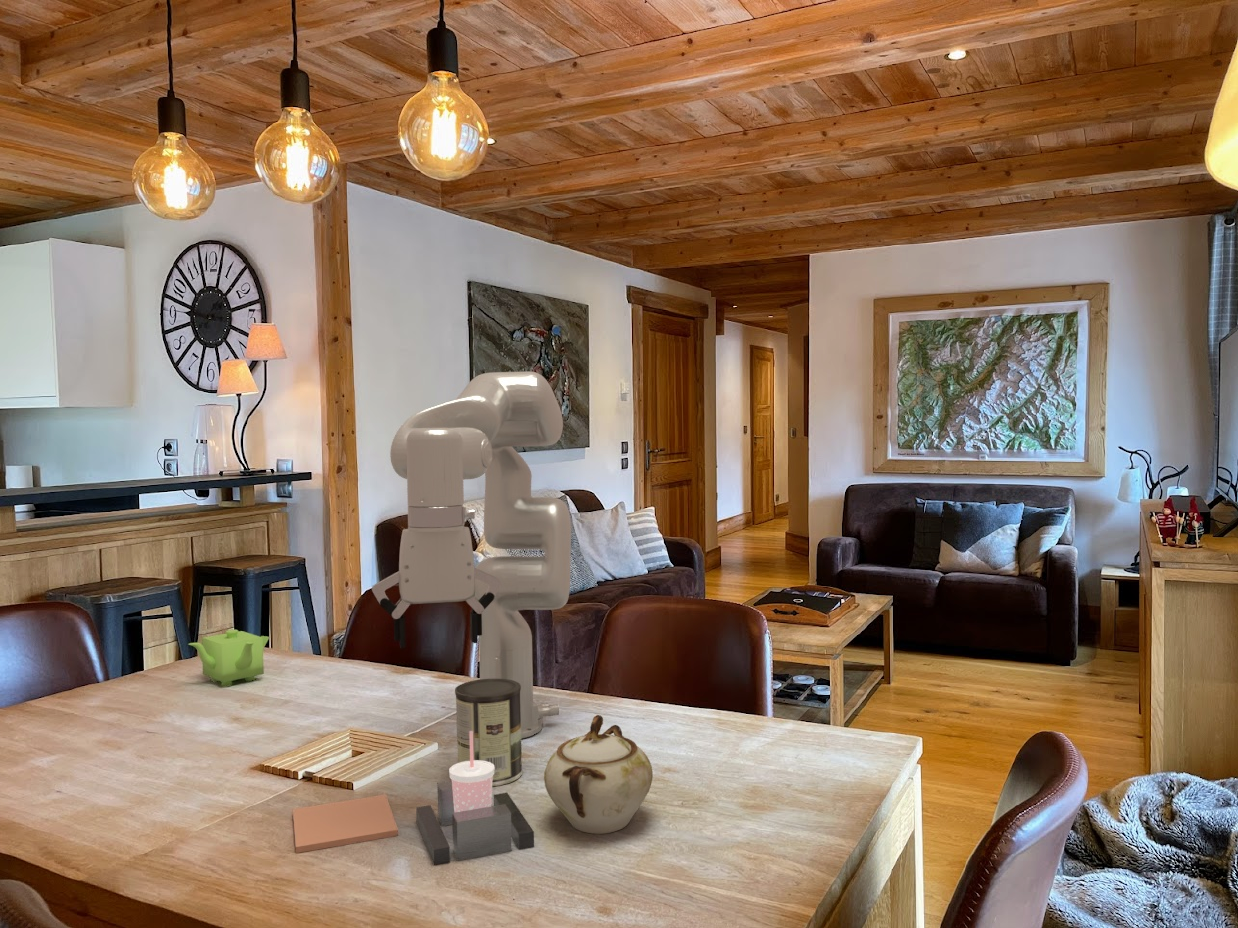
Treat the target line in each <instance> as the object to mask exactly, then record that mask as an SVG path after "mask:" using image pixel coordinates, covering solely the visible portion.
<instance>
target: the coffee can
mask: <svg viewBox="0 0 1238 928" xmlns="http://www.w3.org/2000/svg"><path fill="white" fill-rule="evenodd" d="M520 690H521V685H520V684H519V683H518V682H516V681H513V680H508V679H480V678H479V679H475V680H474V679H473V680H471V681H467V682H464V683H461V684H459V685H457V686H456V687H455V689H454V693H455V702H456V703H455V707H456V711H455V712H456V714H455V715H456V733H457V734H456V737H457V740H456V742H457V746H456V747H457V763H460V762H464V761H470V736H469V731H473V759H474V760H481V761H487V762H491V763H492V764H494V767H495V770H494V775H493V780H492V787H499V786H503V785H507V784H510V783H513V782H515V781H517V780H518V779H519V778H521V777H520V776H522V775H523V773H524V772H523V760H522V758H523V756H522V755H523V754H522V752H523V751H522V739H521V712H520V711H521V710H520Z"/></svg>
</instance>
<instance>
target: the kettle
mask: <svg viewBox="0 0 1238 928" xmlns="http://www.w3.org/2000/svg"><path fill="white" fill-rule="evenodd" d="M269 640H270V636H266V635H265V636H264V635H261V636H259V635H257V634H253V633H250V632H246V631H242V630H240V631H239V630H238V629H228V630H226V631H225V633H223V634H222V633H221V634H216V635H211V636H205V637H203V636H202V638H201V642H190V643H188V644H187V645H189V646H192V647H194V648H195V650H197V653H198V655H199V658H200V660H201V663H202V674H203V675H204V676H207V677H209V678H211V679H210V682H211V681H218V682H221V684H220V687H230V686H232V685H233V681H236V680H241V679H244V680H245V682H253V681H252V680H254V681H256V680H257V678H256V677H255V676H260V675H264V674H265V673H264V671H265V670H264V667H265V666H264V648H265V646H266V644H267V643H268V641H269ZM255 679H256V680H255Z"/></svg>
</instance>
